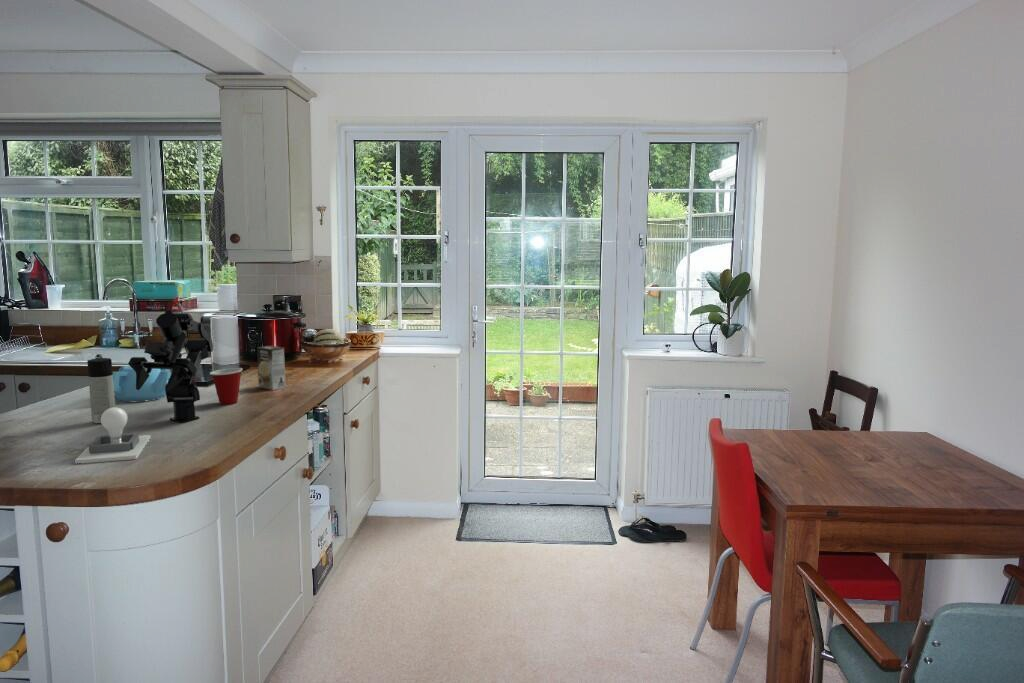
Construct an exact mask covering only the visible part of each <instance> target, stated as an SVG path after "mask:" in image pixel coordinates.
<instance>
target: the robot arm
mask: <svg viewBox="0 0 1024 683" xmlns="http://www.w3.org/2000/svg"><path fill="white" fill-rule="evenodd" d="M164 311H165V312H163V313H161V314H160V315H159V316H157V318H156V319H155V320H156V321H155V323H156V325H157V328H158V329H159V332H160V333H161V336H162V337H163V338H164V339H163V341H162V342H159V341H158V342H157V341H146V342H145V348H144V352H143V353H145V354H148V355H150V359H151V360H153V361H148V360H147V358H146V357H145V356H131V358H130V359H129V360H128V366H131V368H132V369H133V370H134V371H135V372H136V389H137V390H139V389H140V388H141V387H142V386H143V384H144V383H145V382H146V380H147V379H148V377H149V376H150V375H149V373H150V372H151V370H152V369H169V370H170V371H171V370H172V371H171V376H170V378H169V379H168V380H169V381H168V383H167V384H166V386H165V392H166V395H165V397H166V401H167V403H173V417H170V418H169V421H173V422H177V421H178V422H177V423H184V422H185V423H186V422H189V421H193V420H198V419H200V416H199V415H196V407H195V402H197V401H200V400H201V397H200V396H201V395H200V391H199V388H198V386H197V383H196V382H195V377H196V375H197V373H198V370H199V368H200V365H201V363H202V361H204V360H205V359H207V358H209V357H210V356H211V354H212V352H213V350H214V343H213V339H212V335H211V334H210V333H209V332H208V331H207V330H206V329H205V328H204V324H203V323H202V322H200V321H196V320H194V317H193V316H192V315H191V314H190V313H189V312H178V313H177V312H176V313H175V312H174V310H171V309H168V310H167V309H166V310H164ZM189 335H200V336H201V338H189ZM183 348H184V350H185V352H186V357H183V355H182V353H181V352H182V350H183Z"/></svg>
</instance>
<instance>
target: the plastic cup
mask: <svg viewBox="0 0 1024 683" xmlns="http://www.w3.org/2000/svg"><path fill="white" fill-rule="evenodd" d="M242 372H243V368H242V367H231V368H221V369H217V370H214V371H210V372H209V375H211V378H212V380H213V383H214V387H215V390H216V394H217V397H218V401H219V404H220V405H223V406H224V405H226V406H227V405H228V406H229V405H234V404H237V403H238V400H239V393H240V385H241V377H242Z"/></svg>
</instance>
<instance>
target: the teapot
mask: <svg viewBox="0 0 1024 683" xmlns="http://www.w3.org/2000/svg"><path fill="white" fill-rule="evenodd" d="M171 374H172V371H171V370H169V369H152V370H151V372H150V373H149V375H150V376H149V377H148V379H147V380H146V382H145V383H144V384H143V386H142V387H141V388H140V389H139V390H137V389H136V372H135V371H134V370H133V369H132V368H131V366H130V365H123V366H121V367H120V368H119V369H118V371H113V382H114V395H115V398H116V399H118V401H120V400H122V401H121V402H124V401H143V402H146V401H145V400H151V401H154V400H153V399H156V400H159V399H158V398H160V399H162V398H161V397H163V398H164V397H166V392H165V386H166V384H167V383H168V381H169V380H168V379H169V378H170V376H171Z"/></svg>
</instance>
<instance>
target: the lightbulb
mask: <svg viewBox="0 0 1024 683" xmlns="http://www.w3.org/2000/svg"><path fill="white" fill-rule="evenodd" d="M128 419H129V418H128V414H127V412H126V411H125V410H124V409H122V408H120V407H117V406H115V407H112V408H109V409H107V410H105V411H104V412H103V414H102V415H101V426H102V427H103V428H104V430H106V431H107V434H108V435H109V436H110V441H111V444H115V443H122V440H121V435H122V434H123V431H124V428H125V427H126V425H127V423H128Z"/></svg>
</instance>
